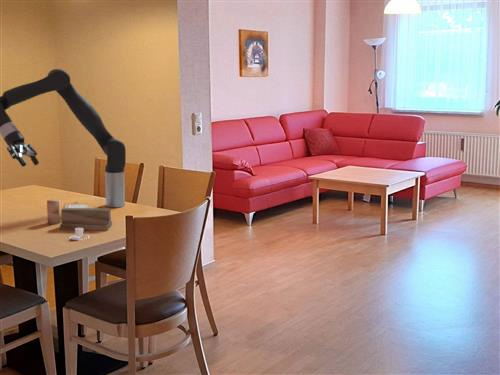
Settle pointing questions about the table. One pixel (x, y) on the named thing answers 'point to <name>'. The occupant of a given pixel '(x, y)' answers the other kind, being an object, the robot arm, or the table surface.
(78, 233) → the teacup and saucer
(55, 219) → the pink domed cylinder
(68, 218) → the ridge
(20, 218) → the table surface
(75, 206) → the baseboard molding
